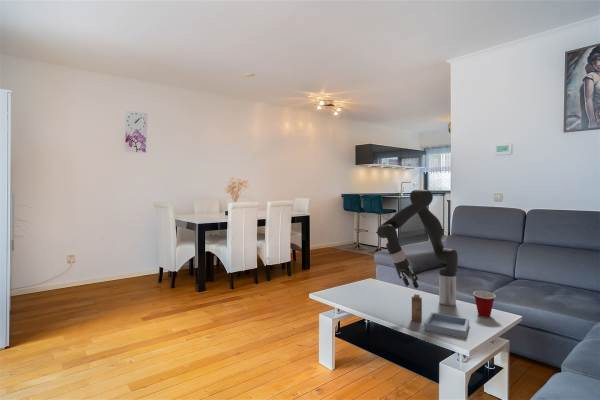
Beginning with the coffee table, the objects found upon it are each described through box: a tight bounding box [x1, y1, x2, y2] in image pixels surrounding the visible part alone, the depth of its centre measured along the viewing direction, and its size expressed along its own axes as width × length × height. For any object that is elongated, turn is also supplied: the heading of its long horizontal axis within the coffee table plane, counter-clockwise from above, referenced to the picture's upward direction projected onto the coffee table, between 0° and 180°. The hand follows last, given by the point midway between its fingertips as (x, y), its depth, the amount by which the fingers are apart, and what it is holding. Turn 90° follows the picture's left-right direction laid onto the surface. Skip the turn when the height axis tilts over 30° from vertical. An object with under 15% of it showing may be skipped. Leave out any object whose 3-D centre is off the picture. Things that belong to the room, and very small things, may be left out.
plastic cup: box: [472, 290, 497, 318], centre depth 182 cm, size 11×11×12 cm
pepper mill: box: [411, 293, 423, 323], centre depth 175 cm, size 5×5×14 cm
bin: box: [424, 312, 470, 339], centre depth 166 cm, size 18×18×3 cm
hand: (412, 286), depth 179 cm, fingers open, 8 cm apart
